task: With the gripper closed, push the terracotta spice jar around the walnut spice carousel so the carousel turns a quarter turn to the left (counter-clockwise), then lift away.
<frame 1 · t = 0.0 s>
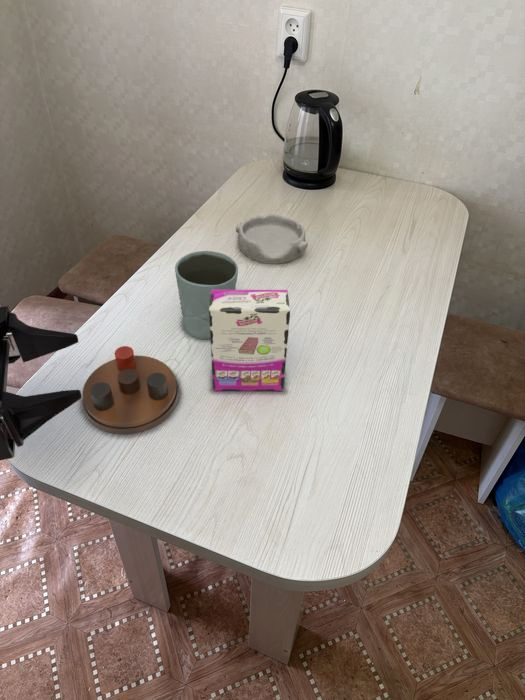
hand: (79, 364, 58), 17 cm above the table, tool horizontal, fingers open, 9 cm apart
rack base: (132, 397, 77), on the table
spice rack: (128, 382, 74), point 3 cm above the table, hinge at 0.0°
candy bar box: (247, 381, 80), on the table
grey green pot: (209, 324, 90), on the table
dish: (270, 249, 109), on the table
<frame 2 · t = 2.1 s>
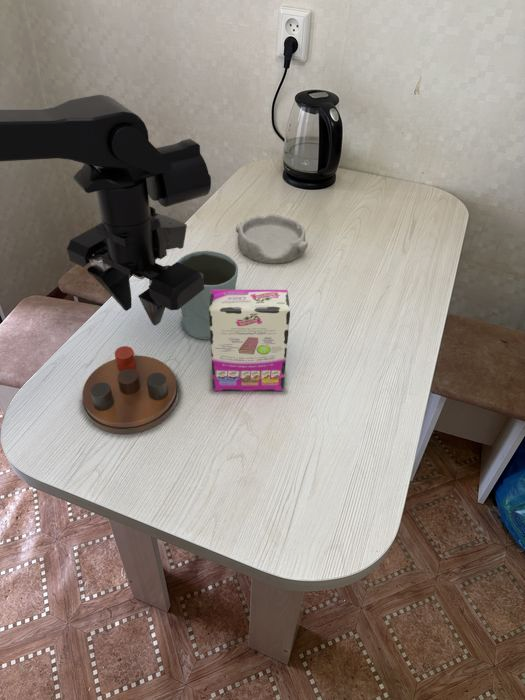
hand: (142, 316, 71), 13 cm above the table, tool pointing down, fingers open, 5 cm apart
nothing on the table moved.
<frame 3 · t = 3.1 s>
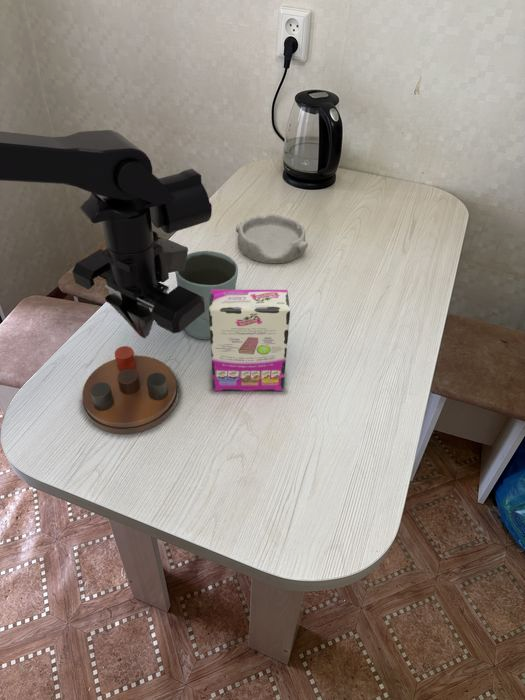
hand: (144, 335, 73), 9 cm above the table, tool pointing down, fingers closed
nothing on the table moved.
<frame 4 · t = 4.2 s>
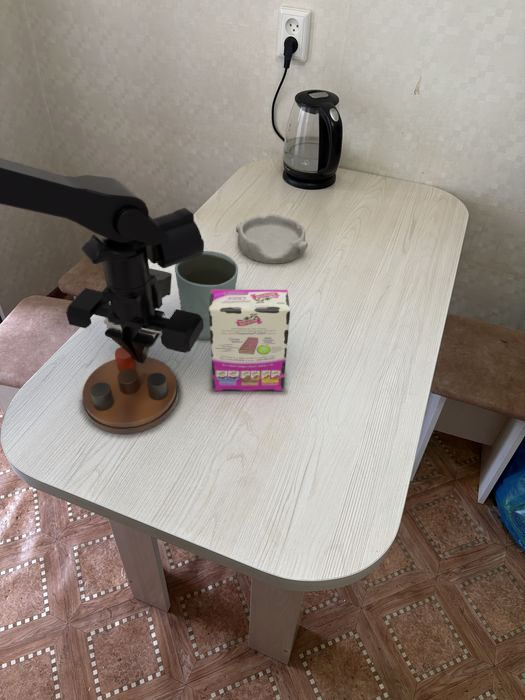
hand: (142, 361, 77), 4 cm above the table, tool pointing down, fingers closed
spice rack: (128, 382, 74), point 3 cm above the table, hinge at 0.0°, touching gripper
everything else where it was.
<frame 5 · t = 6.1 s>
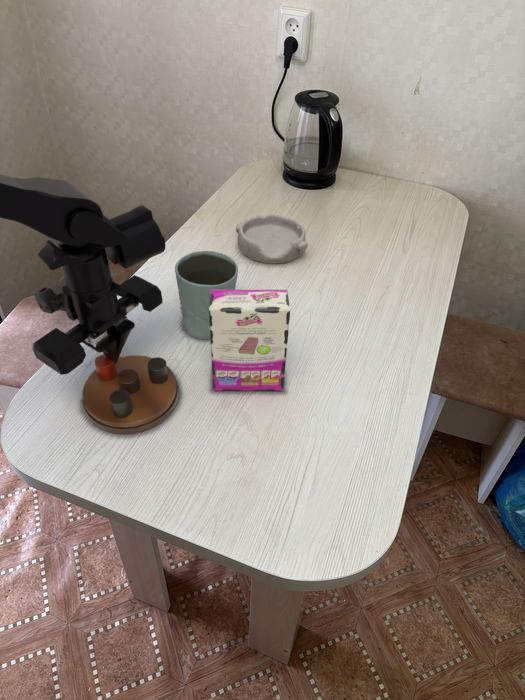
hand: (113, 362, 76), 4 cm above the table, tool pointing down, fingers closed, pressing on spice rack
spice rack: (128, 382, 74), point 3 cm above the table, hinge at 41.3°, touching gripper
everything else where it was.
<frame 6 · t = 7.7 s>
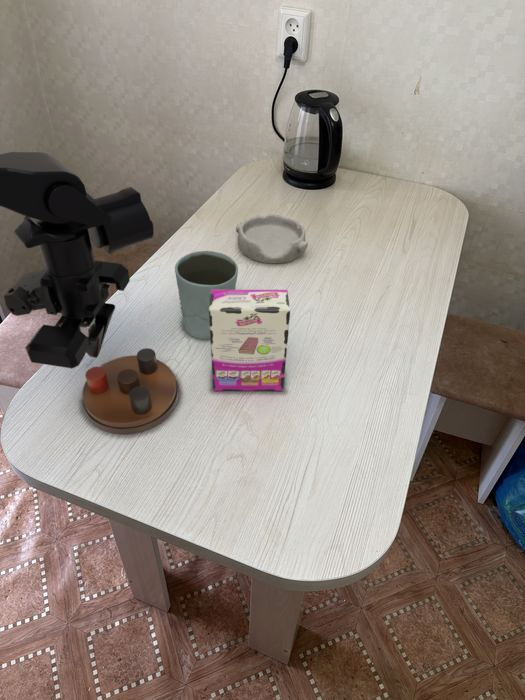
hand: (94, 355, 72), 8 cm above the table, tool pointing down, fingers closed
spice rack: (128, 382, 74), point 3 cm above the table, hinge at 76.0°
everything else where it was.
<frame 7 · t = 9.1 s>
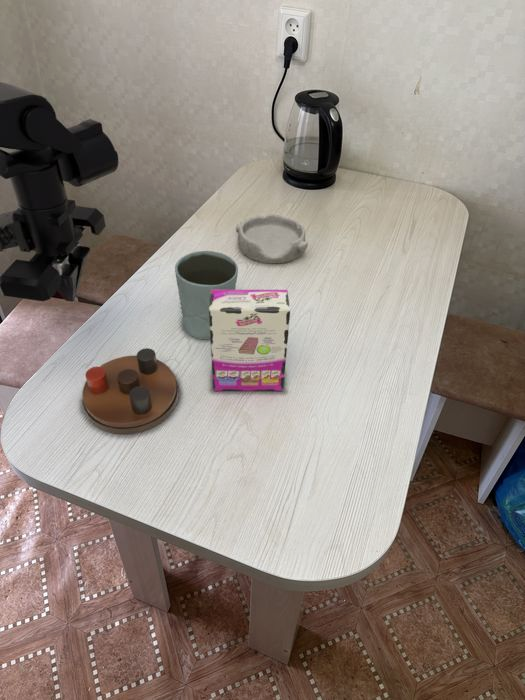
hand: (70, 299, 73), 13 cm above the table, tool pointing down, fingers closed
nothing on the table moved.
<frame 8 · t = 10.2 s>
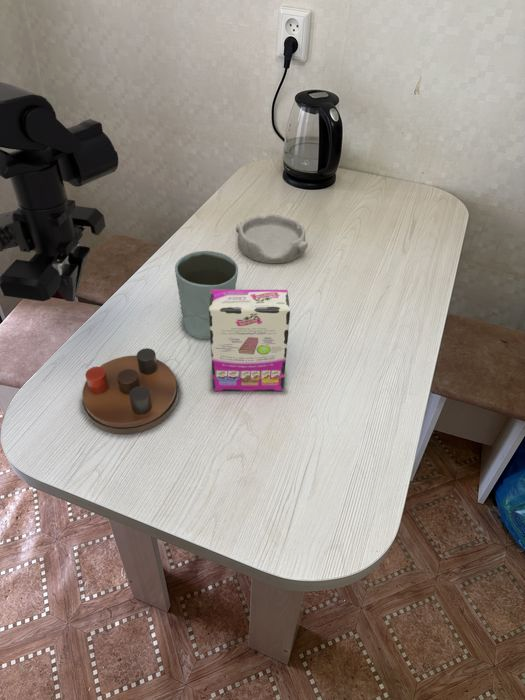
hand: (70, 299, 73), 13 cm above the table, tool pointing down, fingers closed
nothing on the table moved.
at the end: spice rack at +76° (first picture: +0°); the gripper is holding nothing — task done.
